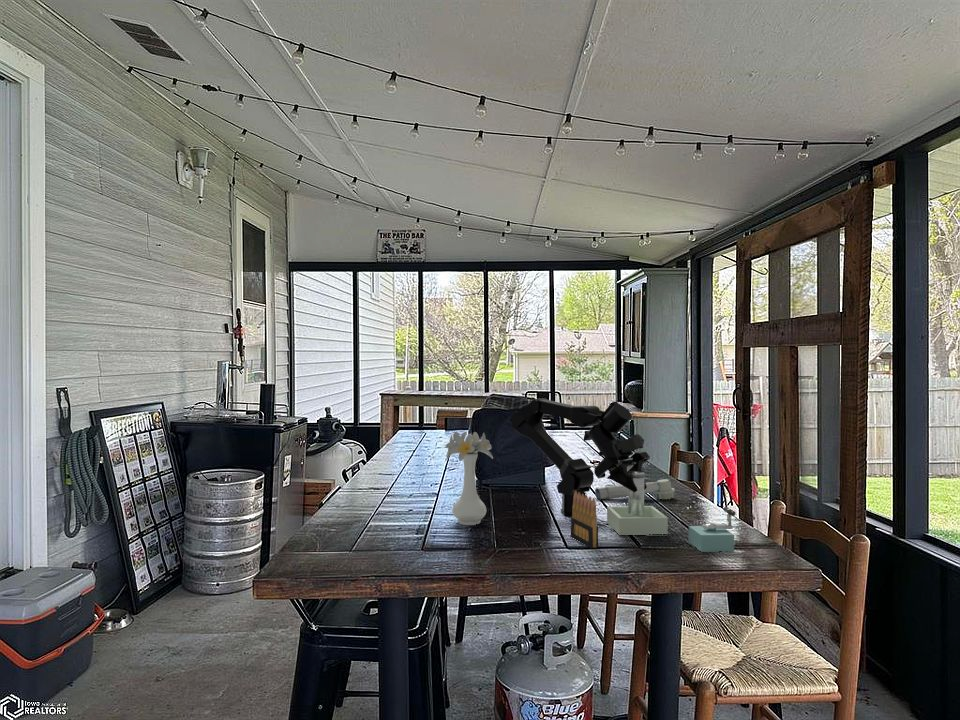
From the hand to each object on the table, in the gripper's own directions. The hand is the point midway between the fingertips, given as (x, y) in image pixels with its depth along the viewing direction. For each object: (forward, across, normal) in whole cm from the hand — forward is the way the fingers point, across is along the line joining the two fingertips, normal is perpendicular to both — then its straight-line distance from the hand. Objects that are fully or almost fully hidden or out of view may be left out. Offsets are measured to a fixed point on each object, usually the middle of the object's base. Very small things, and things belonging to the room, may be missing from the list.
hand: (640, 490), depth 179 cm
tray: (+7, 0, +8) cm, 11 cm away
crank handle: (+19, +1, -11) cm, 22 cm away
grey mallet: (-7, +30, +23) cm, 38 cm away
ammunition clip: (+6, -20, +10) cm, 23 cm away
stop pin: (+4, 0, +6) cm, 7 cm away
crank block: (+22, 0, -7) cm, 23 cm away
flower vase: (-18, -29, +34) cm, 48 cm away
